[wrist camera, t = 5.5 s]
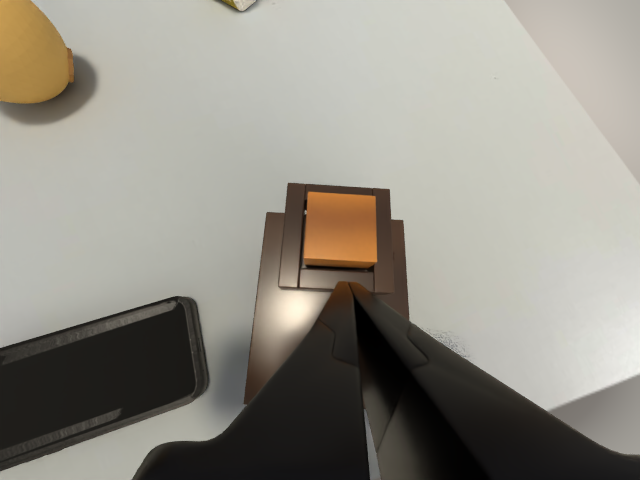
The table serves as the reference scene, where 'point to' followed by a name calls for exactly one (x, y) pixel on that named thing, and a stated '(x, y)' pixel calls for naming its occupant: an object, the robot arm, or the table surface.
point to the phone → (98, 378)
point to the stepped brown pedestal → (314, 279)
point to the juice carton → (240, 3)
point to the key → (340, 230)
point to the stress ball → (31, 55)
